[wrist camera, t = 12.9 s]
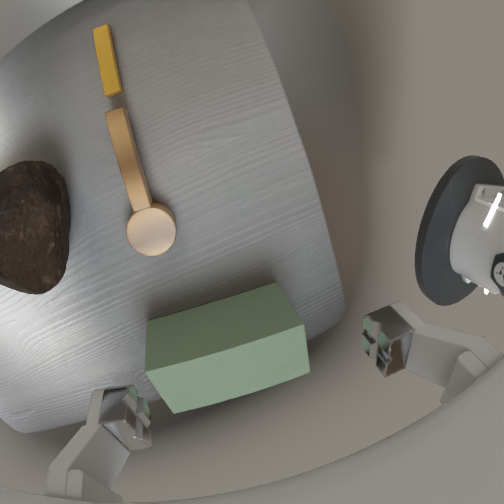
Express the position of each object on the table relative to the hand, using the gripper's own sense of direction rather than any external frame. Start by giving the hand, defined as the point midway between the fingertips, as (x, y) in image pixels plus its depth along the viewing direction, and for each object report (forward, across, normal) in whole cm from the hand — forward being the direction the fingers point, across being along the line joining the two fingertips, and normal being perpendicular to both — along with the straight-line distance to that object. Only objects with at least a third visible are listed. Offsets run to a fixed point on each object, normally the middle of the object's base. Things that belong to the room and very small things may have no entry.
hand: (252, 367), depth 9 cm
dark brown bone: (+20, +26, -6) cm, 33 cm away
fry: (+20, +5, -16) cm, 26 cm away
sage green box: (+21, +2, +14) cm, 25 cm away
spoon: (+20, +5, -4) cm, 22 cm away
